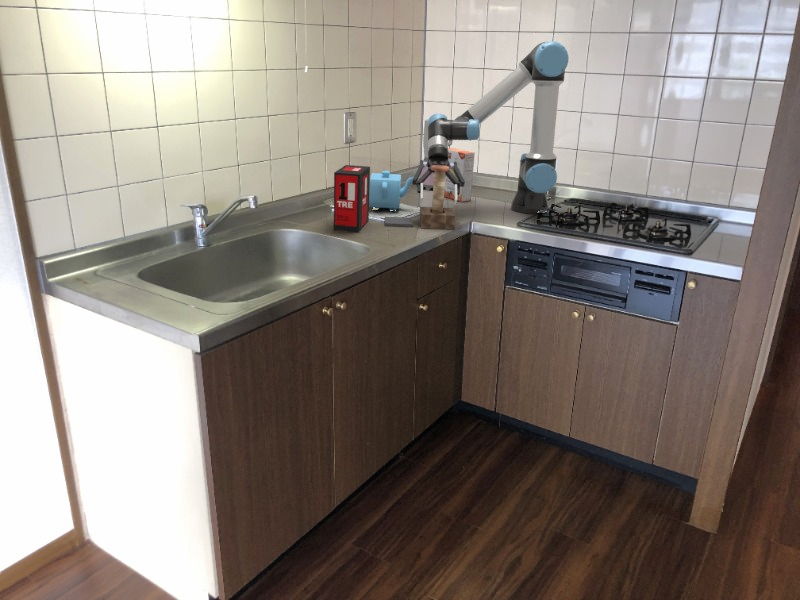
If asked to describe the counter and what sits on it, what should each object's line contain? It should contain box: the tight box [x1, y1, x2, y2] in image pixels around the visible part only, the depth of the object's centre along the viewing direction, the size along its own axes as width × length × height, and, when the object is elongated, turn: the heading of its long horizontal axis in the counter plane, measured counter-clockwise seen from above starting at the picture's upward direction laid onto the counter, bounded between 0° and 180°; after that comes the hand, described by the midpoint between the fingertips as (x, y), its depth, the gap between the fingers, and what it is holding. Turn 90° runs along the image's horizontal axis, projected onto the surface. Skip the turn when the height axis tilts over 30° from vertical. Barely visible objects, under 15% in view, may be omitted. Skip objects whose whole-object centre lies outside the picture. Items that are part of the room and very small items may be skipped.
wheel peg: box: [431, 165, 449, 213], centre depth 237 cm, size 6×6×21 cm
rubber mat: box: [384, 216, 414, 228], centre depth 240 cm, size 10×10×1 cm
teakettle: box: [369, 170, 414, 211], centre depth 259 cm, size 19×19×15 cm
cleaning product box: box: [333, 164, 371, 233], centre depth 230 cm, size 16×9×20 cm, turn 171°
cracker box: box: [444, 147, 476, 203], centre depth 281 cm, size 14×6×21 cm, turn 36°
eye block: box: [419, 206, 456, 230], centre depth 240 cm, size 12×12×5 cm
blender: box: [419, 118, 454, 191], centre depth 299 cm, size 16×12×32 cm
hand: (438, 200), depth 235 cm, fingers open, 12 cm apart
